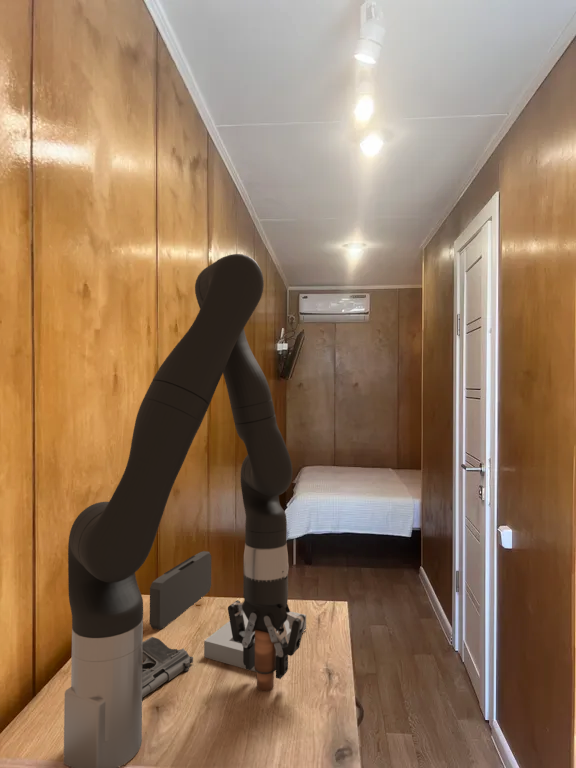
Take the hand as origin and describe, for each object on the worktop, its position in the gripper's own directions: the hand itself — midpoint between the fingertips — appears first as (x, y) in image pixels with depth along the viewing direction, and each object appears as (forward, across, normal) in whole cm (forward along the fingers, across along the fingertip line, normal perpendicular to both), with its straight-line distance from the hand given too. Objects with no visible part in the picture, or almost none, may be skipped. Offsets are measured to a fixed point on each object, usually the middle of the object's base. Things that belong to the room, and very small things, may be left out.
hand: (265, 671), depth 80 cm
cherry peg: (+2, 0, 0) cm, 2 cm away
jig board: (+2, -8, +12) cm, 15 cm away
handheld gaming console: (+3, -31, +18) cm, 36 cm away
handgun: (+3, -21, -7) cm, 22 cm away
